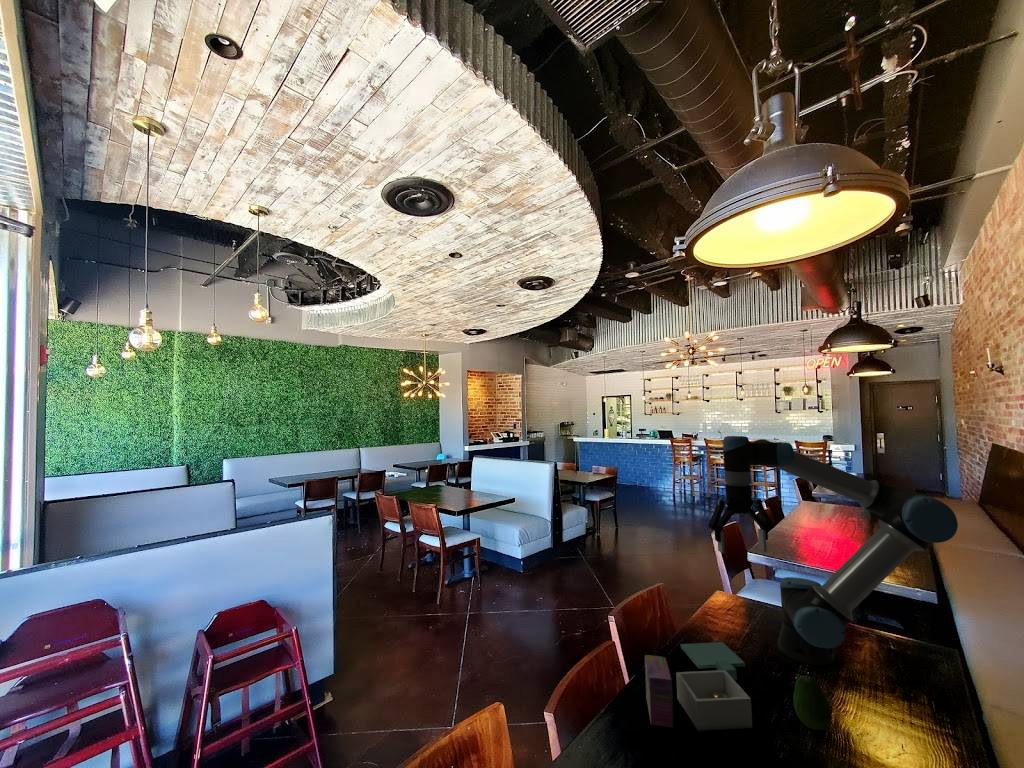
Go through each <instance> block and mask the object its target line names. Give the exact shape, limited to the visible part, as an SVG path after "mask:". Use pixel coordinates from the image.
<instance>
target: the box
mask: <svg viewBox="0 0 1024 768" xmlns="http://www.w3.org/2000/svg"><path fill="white" fill-rule="evenodd" d="M644 667H645V668H644V670H645V671H644V672H645V698H646V703H647V710H648V716H649V721H650V722H649V723H650V725H651V726H657V727H663V728H674V707H673V706H674V704H673V678H672V676H671V671H670V669H669V664H668V661H667V657H665V656H660V655H659V656H658V655H650V654H649V655H647V654H645V655H644Z"/></svg>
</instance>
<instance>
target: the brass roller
mask: <svg viewBox="0 0 1024 768" xmlns="http://www.w3.org/2000/svg"><path fill="white" fill-rule="evenodd" d="M711 698H730V696H729V694H728V693H712V694H711Z"/></svg>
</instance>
